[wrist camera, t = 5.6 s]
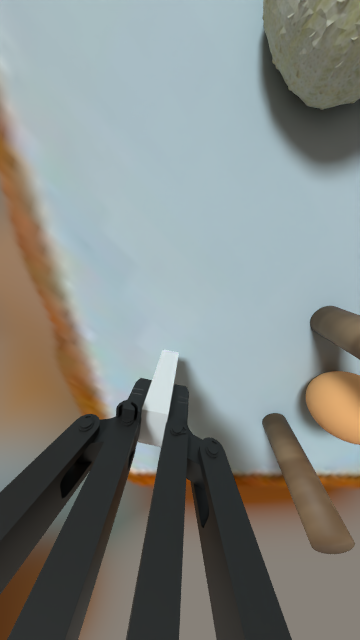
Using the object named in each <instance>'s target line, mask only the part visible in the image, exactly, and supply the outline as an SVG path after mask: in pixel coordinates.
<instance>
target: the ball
mask: <svg viewBox="0 0 360 640" xmlns="http://www.w3.org/2000/svg"><path fill="white" fill-rule="evenodd" d="M306 403H307V407H308V409H309V411H310V413H311V415H312V416H313V418H314V419H315V421H316V422H317V423H318V424H319V425H320V426H321V427H322V428H323V429H325V430H326V431H327V432H329V433H330V434H332V435H333V436H335V437H337V438H339V439H341V440H344V441H346V442H350V443H353V444H359V445H360V375H357V374H354V373H350V372H343V371H332V372H326V373H323V374H320V375H318V376H317V377H315V378H314V379H313V380H312V381H311V382H310V384H309V385H308V387H307V390H306Z"/></svg>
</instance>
